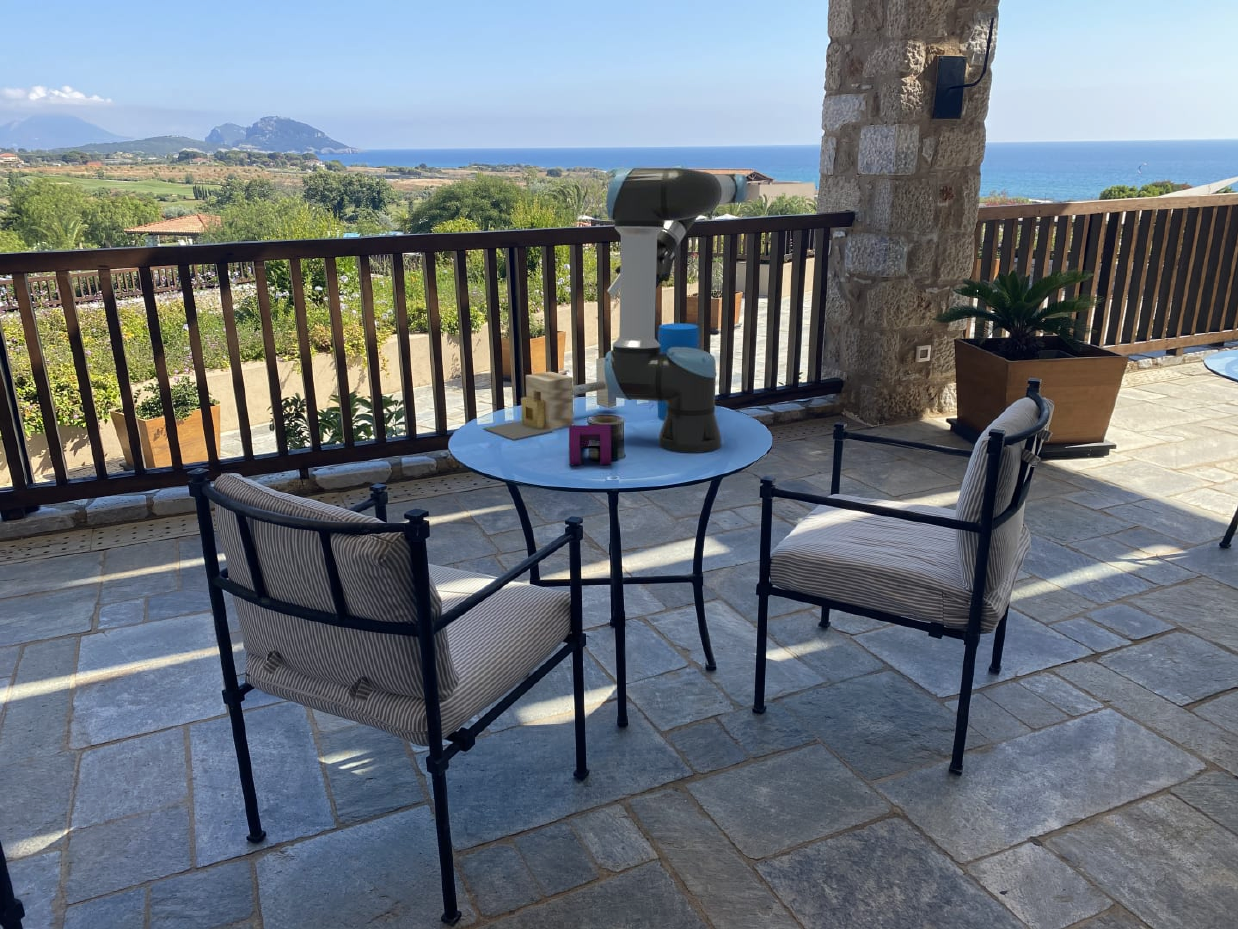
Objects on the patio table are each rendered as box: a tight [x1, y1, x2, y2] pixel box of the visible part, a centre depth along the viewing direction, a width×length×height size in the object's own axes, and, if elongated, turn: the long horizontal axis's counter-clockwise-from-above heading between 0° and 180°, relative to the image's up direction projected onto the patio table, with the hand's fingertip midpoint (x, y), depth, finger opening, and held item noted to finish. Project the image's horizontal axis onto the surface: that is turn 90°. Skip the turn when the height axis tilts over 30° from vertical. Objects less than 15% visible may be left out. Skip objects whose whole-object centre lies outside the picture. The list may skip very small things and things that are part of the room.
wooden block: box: [525, 371, 575, 431], centre depth 233 cm, size 8×10×13 cm
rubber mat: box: [483, 419, 553, 442], centre depth 229 cm, size 12×14×1 cm
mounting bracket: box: [568, 424, 612, 466], centre depth 206 cm, size 9×8×18 cm
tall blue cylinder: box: [657, 323, 700, 421], centre depth 238 cm, size 11×11×25 cm
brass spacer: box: [520, 396, 545, 430], centre depth 230 cm, size 2×7×7 cm, turn 40°
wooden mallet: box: [573, 357, 617, 409], centre depth 238 cm, size 22×5×13 cm, turn 130°
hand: (626, 296), depth 242 cm, fingers open, 13 cm apart
